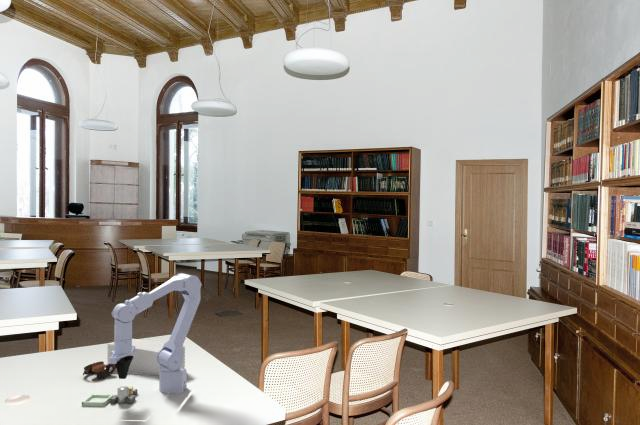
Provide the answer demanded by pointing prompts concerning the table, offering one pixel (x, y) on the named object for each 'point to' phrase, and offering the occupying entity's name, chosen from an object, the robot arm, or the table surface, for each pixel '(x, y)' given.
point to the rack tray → (97, 400)
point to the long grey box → (143, 357)
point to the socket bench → (129, 400)
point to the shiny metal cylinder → (122, 395)
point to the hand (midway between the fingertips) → (122, 378)
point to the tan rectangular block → (129, 390)
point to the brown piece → (99, 370)
